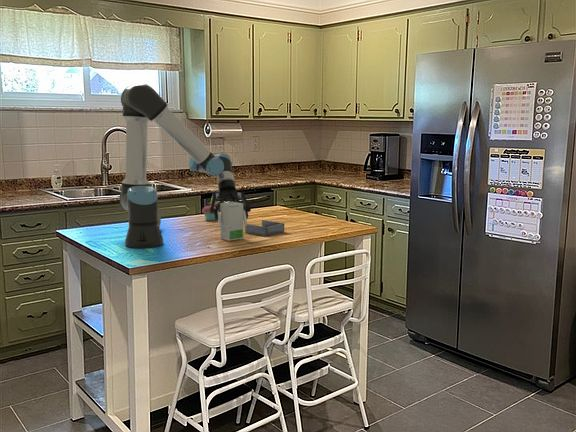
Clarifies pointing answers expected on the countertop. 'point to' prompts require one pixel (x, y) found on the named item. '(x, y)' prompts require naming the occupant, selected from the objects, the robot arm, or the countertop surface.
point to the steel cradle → (265, 228)
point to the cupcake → (208, 212)
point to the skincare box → (231, 221)
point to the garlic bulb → (159, 220)
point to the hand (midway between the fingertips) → (233, 225)
